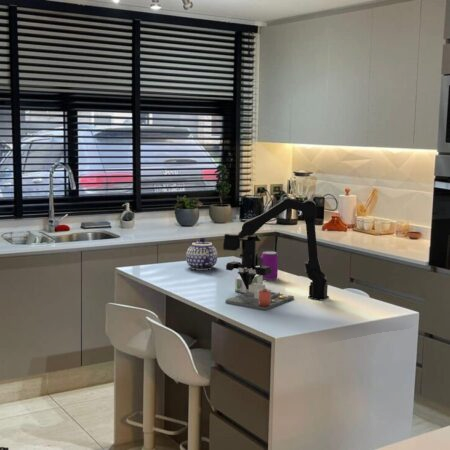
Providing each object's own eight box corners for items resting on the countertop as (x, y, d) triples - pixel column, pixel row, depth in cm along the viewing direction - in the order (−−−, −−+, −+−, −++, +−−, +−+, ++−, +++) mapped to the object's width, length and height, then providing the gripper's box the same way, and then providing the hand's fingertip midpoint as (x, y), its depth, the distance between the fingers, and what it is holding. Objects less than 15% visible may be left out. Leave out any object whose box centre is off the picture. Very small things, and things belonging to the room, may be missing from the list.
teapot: (225, 272, 328) (225, 241, 326) (194, 274, 323) (195, 243, 321) (208, 262, 351) (208, 232, 349) (179, 263, 346) (179, 234, 344)
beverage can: (265, 275, 322) (265, 250, 321) (280, 278, 319) (281, 252, 317) (257, 278, 316) (258, 252, 314) (272, 281, 312) (273, 254, 310)
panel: (293, 299, 281) (293, 293, 281) (265, 310, 263) (265, 304, 263) (255, 292, 291) (255, 287, 291) (225, 302, 273) (225, 297, 273)
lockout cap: (272, 304, 268) (272, 289, 267) (266, 306, 264) (266, 291, 263) (262, 302, 270) (262, 287, 269) (256, 304, 266) (256, 289, 266)
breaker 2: (270, 299, 275) (271, 290, 274) (265, 301, 271) (265, 292, 271) (260, 297, 278) (260, 288, 277) (254, 299, 274) (254, 290, 274)
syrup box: (251, 271, 303) (234, 277, 291) (263, 273, 300) (246, 279, 288) (251, 284, 304) (233, 291, 292) (263, 286, 301) (246, 293, 289)
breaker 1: (264, 293, 284) (265, 284, 284) (259, 295, 281) (259, 286, 280) (254, 291, 287) (254, 283, 287) (248, 293, 284) (248, 285, 283)
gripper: (278, 251, 285) (277, 288, 288) (240, 246, 296) (239, 282, 298) (264, 255, 276) (263, 293, 279) (225, 249, 287) (224, 287, 289)
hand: (248, 288), depth 286 cm, fingers closed
